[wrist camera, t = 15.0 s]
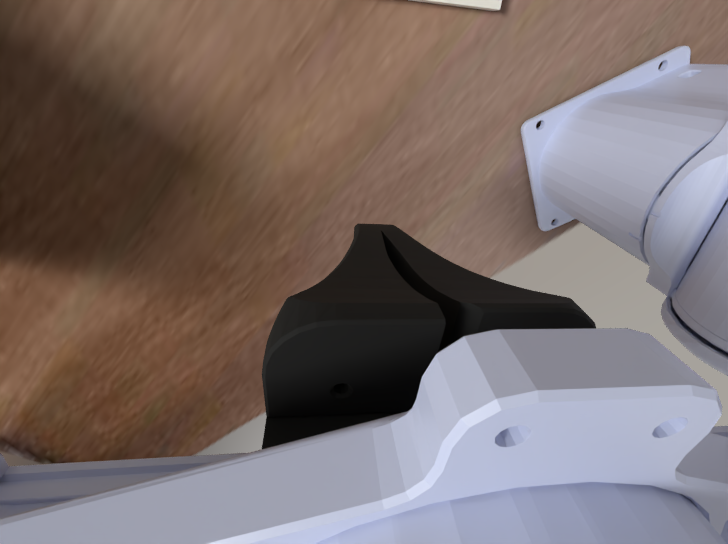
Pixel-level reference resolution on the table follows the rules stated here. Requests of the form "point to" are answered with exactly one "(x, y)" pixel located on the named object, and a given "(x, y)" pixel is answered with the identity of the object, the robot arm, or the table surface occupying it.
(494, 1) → the board
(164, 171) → the table surface
